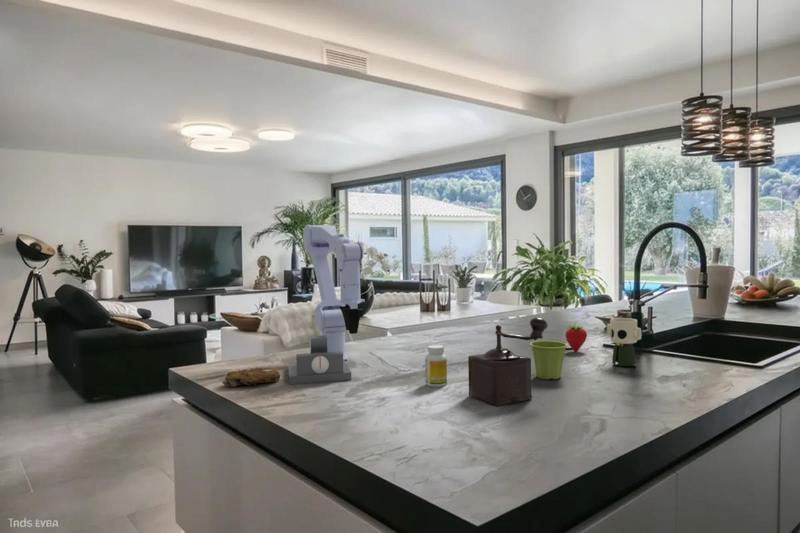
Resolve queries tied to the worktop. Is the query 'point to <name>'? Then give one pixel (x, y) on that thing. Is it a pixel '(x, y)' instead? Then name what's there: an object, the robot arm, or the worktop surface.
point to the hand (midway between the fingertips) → (351, 331)
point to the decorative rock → (251, 376)
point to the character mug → (623, 340)
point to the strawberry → (576, 337)
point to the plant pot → (548, 358)
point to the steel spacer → (318, 344)
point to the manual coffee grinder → (503, 371)
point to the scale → (318, 368)
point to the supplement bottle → (436, 366)
